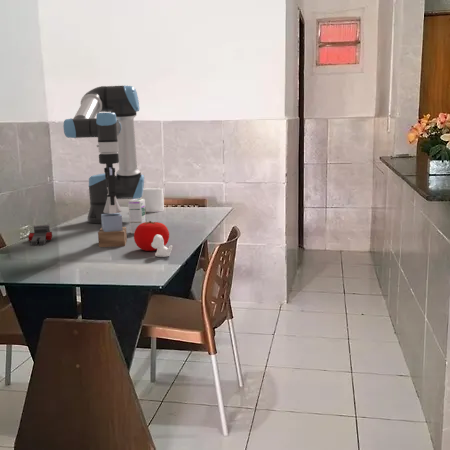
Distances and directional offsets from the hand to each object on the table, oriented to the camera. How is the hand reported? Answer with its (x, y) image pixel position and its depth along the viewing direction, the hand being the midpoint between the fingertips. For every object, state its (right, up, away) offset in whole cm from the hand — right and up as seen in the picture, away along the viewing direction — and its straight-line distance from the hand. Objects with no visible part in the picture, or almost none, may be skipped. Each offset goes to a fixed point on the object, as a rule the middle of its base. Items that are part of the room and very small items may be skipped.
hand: (112, 211), depth 220 cm
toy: (-32, -13, +10) cm, 36 cm away
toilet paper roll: (+5, +2, +84) cm, 84 cm away
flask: (0, -1, 0) cm, 1 cm away
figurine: (+22, -17, -20) cm, 34 cm away
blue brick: (0, -7, +1) cm, 7 cm away
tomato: (+17, -15, -10) cm, 25 cm away
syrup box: (+7, -9, +24) cm, 27 cm away
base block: (0, -13, +3) cm, 13 cm away
